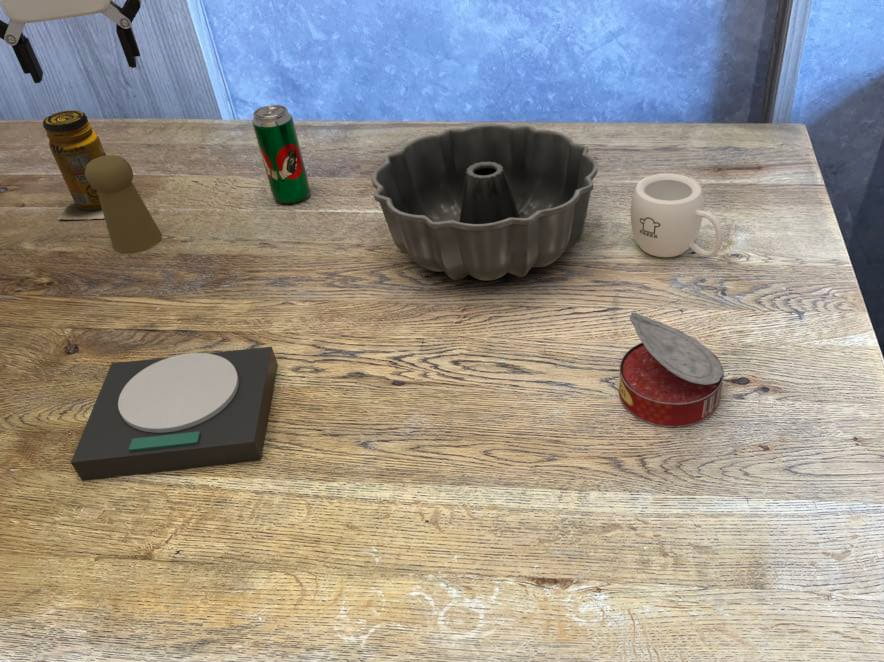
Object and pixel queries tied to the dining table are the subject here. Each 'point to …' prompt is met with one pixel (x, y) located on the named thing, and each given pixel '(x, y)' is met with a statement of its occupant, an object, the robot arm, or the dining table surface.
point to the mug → (670, 215)
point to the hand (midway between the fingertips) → (86, 71)
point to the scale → (178, 414)
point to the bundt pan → (486, 198)
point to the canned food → (669, 376)
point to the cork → (122, 205)
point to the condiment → (75, 160)
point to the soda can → (281, 154)
